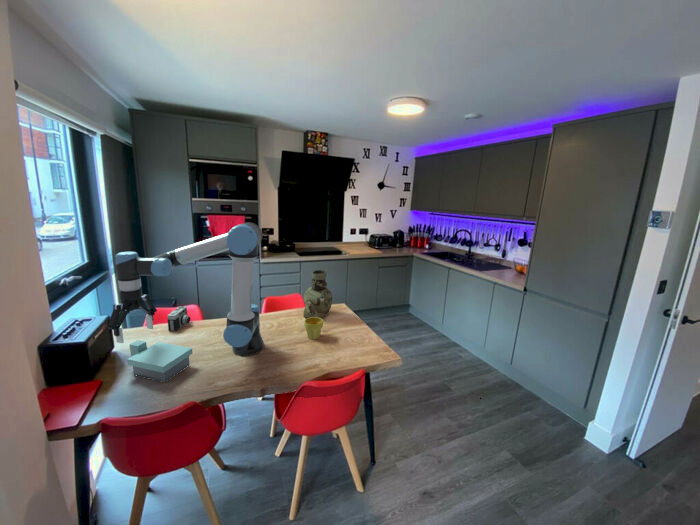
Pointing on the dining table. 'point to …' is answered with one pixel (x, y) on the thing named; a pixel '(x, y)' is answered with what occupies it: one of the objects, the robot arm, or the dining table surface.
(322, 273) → the ceramic vessel
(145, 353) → the lid
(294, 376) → the dining table surface
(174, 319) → the camera
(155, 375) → the tub
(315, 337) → the plant pot
